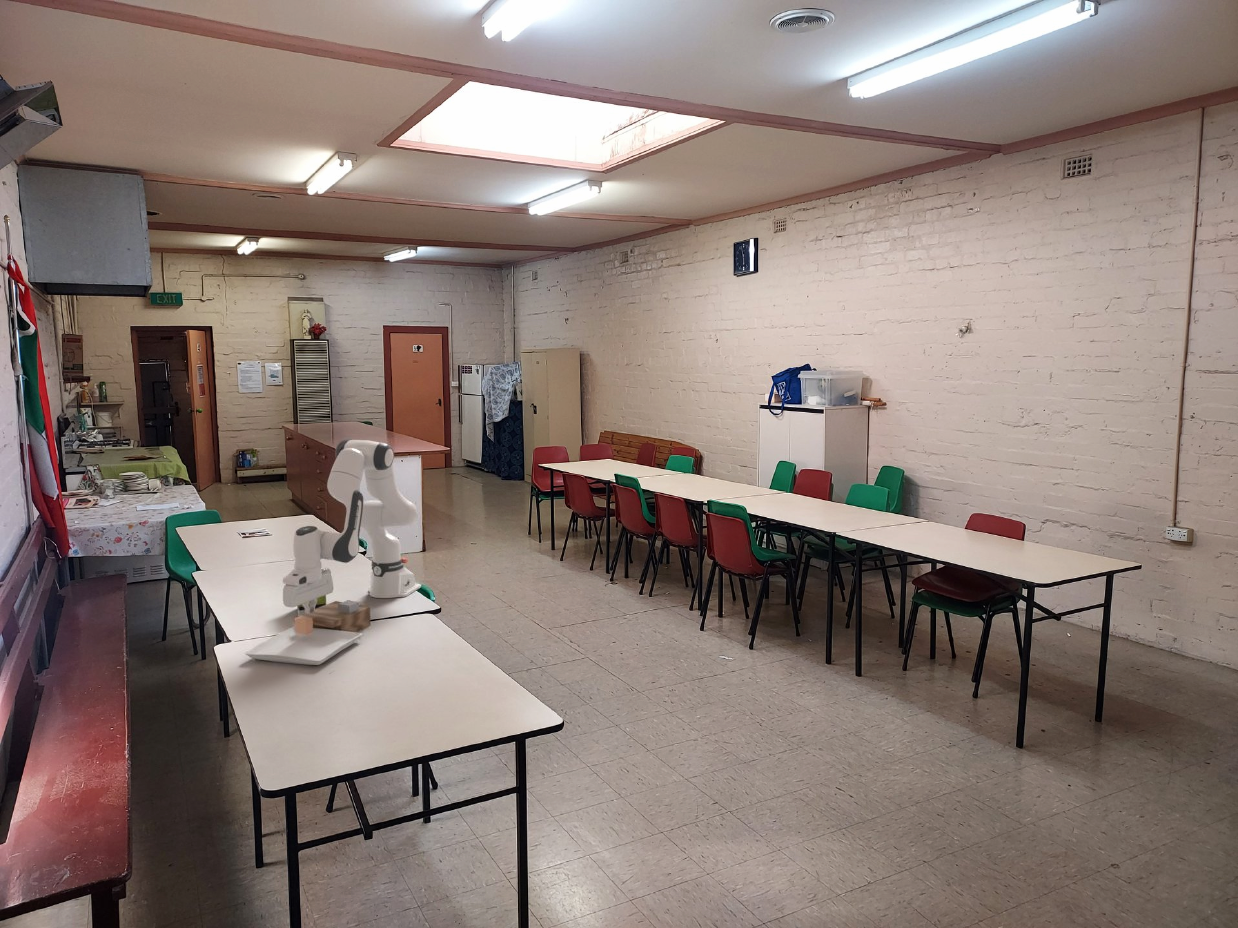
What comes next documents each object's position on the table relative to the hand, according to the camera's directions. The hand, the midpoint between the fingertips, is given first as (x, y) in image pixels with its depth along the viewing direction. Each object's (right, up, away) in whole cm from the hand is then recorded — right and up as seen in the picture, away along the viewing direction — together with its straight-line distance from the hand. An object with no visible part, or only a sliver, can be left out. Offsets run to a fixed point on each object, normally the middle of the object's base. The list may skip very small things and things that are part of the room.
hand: (310, 612), depth 283 cm
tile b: (+11, -1, +8) cm, 14 cm away
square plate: (+3, -12, -12) cm, 17 cm away
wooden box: (+6, -8, +9) cm, 13 cm away
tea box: (-10, -5, +28) cm, 30 cm away
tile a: (0, -4, -3) cm, 4 cm away
